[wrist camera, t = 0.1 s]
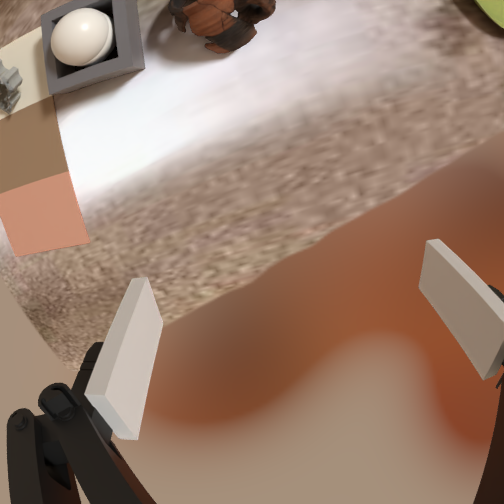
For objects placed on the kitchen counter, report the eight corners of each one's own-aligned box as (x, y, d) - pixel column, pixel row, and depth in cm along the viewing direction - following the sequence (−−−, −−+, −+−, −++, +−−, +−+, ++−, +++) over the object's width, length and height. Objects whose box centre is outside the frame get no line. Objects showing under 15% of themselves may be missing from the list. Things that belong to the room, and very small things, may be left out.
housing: (59, 20, 27) (40, 15, 23) (135, -8, 27) (123, -19, 23) (68, 92, 33) (49, 95, 28) (145, 68, 32) (133, 65, 28)
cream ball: (66, 25, 27) (37, 18, 20) (116, 6, 26) (94, -8, 20) (71, 74, 30) (42, 74, 24) (122, 56, 30) (99, 51, 24)
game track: (-30, 69, 27) (-31, 69, 27) (44, 24, 27) (43, 24, 27) (16, 256, 43) (15, 256, 43) (90, 242, 43) (89, 242, 43)
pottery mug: (195, 64, 34) (149, 28, 27) (217, 12, 34) (179, -24, 26) (285, 50, 28) (244, -2, 21) (300, -5, 28) (267, -54, 21)
